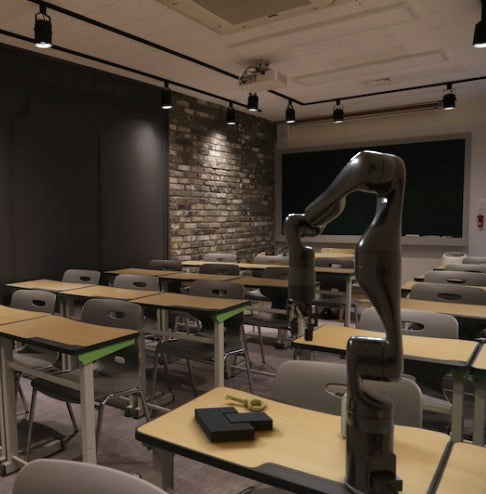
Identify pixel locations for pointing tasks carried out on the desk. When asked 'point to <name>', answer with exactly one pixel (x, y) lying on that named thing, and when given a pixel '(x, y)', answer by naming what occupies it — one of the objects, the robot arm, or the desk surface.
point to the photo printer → (343, 415)
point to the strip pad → (252, 420)
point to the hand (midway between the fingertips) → (301, 337)
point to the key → (247, 402)
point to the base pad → (222, 425)
